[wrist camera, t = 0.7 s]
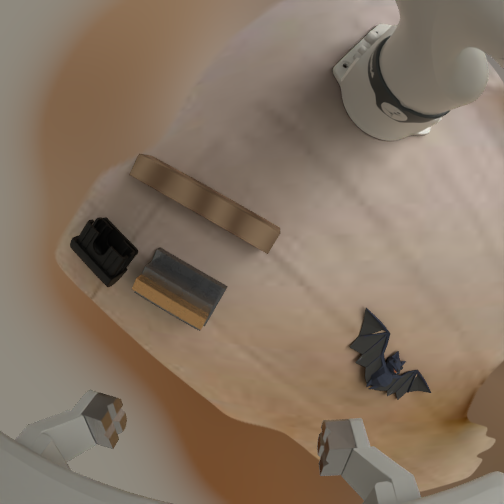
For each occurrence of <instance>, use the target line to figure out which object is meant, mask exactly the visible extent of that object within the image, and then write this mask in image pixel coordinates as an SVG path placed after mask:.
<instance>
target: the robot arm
mask: <svg viewBox="0 0 504 504" xmlns="http://www.w3.org/2000/svg"><path fill="white" fill-rule="evenodd" d="M395 1H396V3H397V6H398V9H399V13H400V21H399V24H398V25H392V26H391V25H387V24H379V25H377V26H376V27H375V28H374V29H373V30H371V31H370V32H369V33H368V34H367V35H366V36H365V37H364V38H363V39H362V40H361V41H360V42H359V43H358V44H357V45H356V46H355V47H354V48H353V49H352V50H350V51H349V52H348V53H347V54H346V55H345V56H344V57H343V58H342V59H341V60H340V61H339V62H338V63H337V64H336V65H335V66H334V68H333V74H334V76H335V78H336V80H337V81H338V83H339V84H340V87H341V93H342V100H343V103H344V106H345V109H346V111H347V113H348V115H349V116H350V118H351V119H352V120H353V122H354V123H355V124H356V125H357V126H358V127H359V128H360V129H361V130H363V131H364V132H365V133H367V134H369V135H371V136H373V137H375V138H378V139H381V140H387V141H394V140H400V139H403V138H405V137H407V136H410V135H426V134H428V133H429V132H430V130H431V126H433V125H435V124H437V123H439V122H440V121H441V117H443V116H444V115H446V114H447V113H448V112H449V111H450V110H452V109H455V108H458V107H461V106H464V105H467V104H470V103H472V102H474V101H476V100H477V99H478V98H479V97H480V96H481V94H482V93H483V92H484V90H485V88H486V85H487V82H488V75H489V73H488V64H487V58H486V55H485V53H486V54H487V55H488V56H490V57H492V58H493V59H494V60H495V61H496V62H497V63H498V64H499V65H500V66H501V67H502V68H503V69H504V0H395ZM343 65H346V66H347V68H344V67H343ZM122 406H123V404H122V401H121V399H119V398H116V397H113V396H109V395H106V394H103V393H99V392H96V391H92V390H88V391H87V392H86V393H85V394H84V395H83V397H82V398H81V399H80V400H79V402H78V403H77V404H76V405H75V406H74V408H73V409H72V410H71V411H69V410H67V411H65V412H62V413H60V414H57V415H54V416H51V417H49V418H46V419H43V420H40V421H37V422H34V423H32V424H28V425H27V427H26V428H25V429H24V430H23V431H22V432H21V433H20V434H19V436H18V437H17V438H16V439H15V440H14V439H12V438H10V437H9V436H7V435H6V434H4V433H3V432H1V431H0V504H172V503H168V502H164V501H159V500H155V499H151V498H147V497H144V496H141V495H137V494H134V493H130V492H127V491H124V490H121V489H118V488H115V487H112V486H109V485H107V484H104V483H101V482H99V481H96V480H93V479H91V478H88V477H86V476H83V475H81V474H79V473H76V472H74V471H72V470H71V469H70V467H69V466H68V464H67V462H68V461H70V460H72V459H73V458H75V457H77V456H79V455H80V454H82V453H84V452H85V451H87V450H89V449H90V448H92V447H94V446H95V445H96V444H98V445H101V446H104V447H108V448H111V449H114V447H115V445H116V443H117V442H118V440H119V437H118V434H120V433H122V432H123V431H124V429H125V427H126V422H127V418H126V414H125V412H124V411H123V410H122V409H121V407H122ZM321 429H322V432H321V433H320V434H319V437H318V445H317V450H318V455H319V456H320V457H321V458H320V461H319V469H320V476H331V475H341V476H342V477H343V478H344V479H345V480H346V481H347V483H348V484H349V485H350V486H351V487H352V488H353V489H354V490H355V491H356V492H357V493H358V494H359V495H360V496H361V498H363V500H364V503H363V504H504V473H501V472H492V473H489V474H486V475H484V476H482V477H480V478H477V479H475V480H472V481H470V482H467V483H465V484H462V485H459V486H457V487H454V488H451V489H448V490H445V491H442V492H439V493H436V494H432V495H429V496H426V497H422V498H421V496H420V493H419V490H418V487H417V484H416V481H415V478H414V476H413V475H412V474H411V473H410V472H408V471H407V470H405V469H404V468H403V467H401V466H400V465H398V464H397V463H396V462H394V461H393V460H391V459H390V458H389V457H387V456H386V455H385V454H383V453H382V452H381V451H379V450H378V449H377V448H375V447H374V446H373V447H370V444H369V440H368V437H367V433H366V430H365V427H364V424H363V420H362V419H361V418H355V419H340V420H323V422H322V426H321Z"/></svg>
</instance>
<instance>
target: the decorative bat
mask: <svg viewBox="0 0 504 504" xmlns="http://www.w3.org/2000/svg"><path fill="white" fill-rule="evenodd" d="M381 330H385V331H386V332H384V333H377V334H372V333H375V332H378V331H381ZM389 336H390V332H389V331H388V330H387V329H386V327H385V326H384V325H383V323H382V322H381V321H380V320H379V319H378V318H377V317H375V316H374V315H373V314H372V313H371V312H370V311H369V310H368V309H367V308H366V309H365V317H364V323H363V326H362V329H361V332H360V335H359V337H358V338H357V339H356V340H355V341H354V343H353V344H352V345H351V346H350V348H352V349H354V350H356V351H357V352H359V353H361V354H362V356H361V357H360V358H359V359H358V360H357V361H356V363H357V364H360V365H362V366H364V367H366V371H365V379H366V383H367V386H366V387H368V386H370V385H371V386H372V387H371V388H369V389H374V390H380V391H387V396H389V395H391V394H393V393H395V392H396V395H397V400H398V399H399V398H401V397H402V396H403V395H404V394H405V393H406V392H408V393H409V392H412V391H423V392H428V393H431V391H430V389H429V387H428V385H427V383H426V381H425V379H424V378H423V377H422V375H421V374H420V372H419V371H418V370H414V371H409V372H406V373H404V374H403V375H401V376H400V375H397V374H399V373H400V370H402V369H403V367H402V366H403V365H404V363H405V362H406V361H402V362H401V361H400V358H399V351H398V352H396V353H395V354H394V355H393V356H391V357H388V359H387V362H385V358H384V352H385V350H386V347H387V344H388V340H389ZM417 373H418V374H417ZM416 374H417V377H416V378H415V376H416ZM414 375H415V376H414ZM413 377H414V378H413Z"/></svg>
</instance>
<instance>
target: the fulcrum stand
mask: <svg viewBox="0 0 504 504" xmlns="http://www.w3.org/2000/svg"><path fill="white" fill-rule="evenodd" d="M226 288H227V286H226V285H224V284H222V283H221V282H219V281H217V280H215V279H214V278H212V277H210V276H208V275H207V274H205V273H203V272H201V271H200V270H198V269H196V268H194V267H193V266H191V265H189V264H187V263H186V262H184V261H182V260H181V259H179V258H177V257H176V256H174V255H172V254H170V253H169V252H167V251H165V250H164V249H162V248H159V249H157V251H156V253H155V255H154V257H153V259H152V262H150V263H149V264H148V265H146V266H145V268H144V270H143V272H142V274H141V275H140V276H139V277H137V278H136V280H135V283H134V285H133V288H132V289H133V290H134V291H135V293H136V294H138V295H140V296H141V297H143V298H144V299H146V300H148V301H149V302H151V303H153V304H154V305H156V306H157V307H159V308H161V309H162V310H164V311H166V312H168V313H169V314H171V315H173V316H174V317H176V318H178V319H179V320H181V321H183V322H185V323H186V324H188V325H190V326H192V327H194V328H195V329H197V330H199V331H200V330H201V328H202V327H203V326H205V325H206V323H207V321H208V320H209V318H210V316H211V314H212V313H213V311H214V309H215V308H216V306H217V304H218V302H219V301H220V299H221V297H222V295H223V294H224V292H225V290H226Z"/></svg>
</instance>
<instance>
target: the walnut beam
mask: <svg viewBox="0 0 504 504" xmlns="http://www.w3.org/2000/svg"><path fill="white" fill-rule="evenodd" d="M129 175H131V176H133V177H134V178H136V179H138V180H140V181H141V182H143V183H145V184H147V185H148V186H150V187H152V188H154V189H155V190H157V191H159V192H161V193H162V194H164V195H166V196H168V197H169V198H171V199H173V200H175V201H176V202H178V203H180V204H182V205H183V206H185V207H187V208H189V209H190V210H192V211H194V212H196V213H197V214H199V215H201V216H203V217H204V218H206V219H208V220H210V221H211V222H213V223H215V224H217V225H218V226H220V227H222V228H224V229H225V230H227V231H229V232H230V233H232V234H234V235H236V236H237V237H239V238H241V239H243V240H244V241H246V242H248V243H250V244H251V245H253V246H255V247H256V248H258V249H260V250H262V251H263V252H265V253H267V254H268V253H269V251H270V249H271V248H272V246H273V244H274V243H275V241H276V239H277V238H278V236H279V234H280V228H279V227H278V226H276V225H274V224H272V223H271V222H269V221H267V220H266V219H264V218H262V217H260V216H259V215H257V214H255V213H254V212H252V211H250V210H248V209H247V208H245V207H243V206H241V205H240V204H238V203H236V202H234V201H233V200H231V199H229V198H227V197H226V196H224V195H222V194H220V193H218V192H217V191H215V190H213V189H211V188H210V187H208V186H206V185H204V184H202V183H201V182H199V181H197V180H195V179H193V178H192V177H190V176H188V175H186V174H184V173H182V172H181V171H179V170H177V169H175V168H173V167H171V166H169V165H168V164H166V163H164V162H162V161H160V160H158V159H156V158H155V157H153V156H149V155H143V154H139V155H138V157H137V159H136V161H135V164H134V166H133V168H132V170H131V172H130V174H129Z"/></svg>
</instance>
